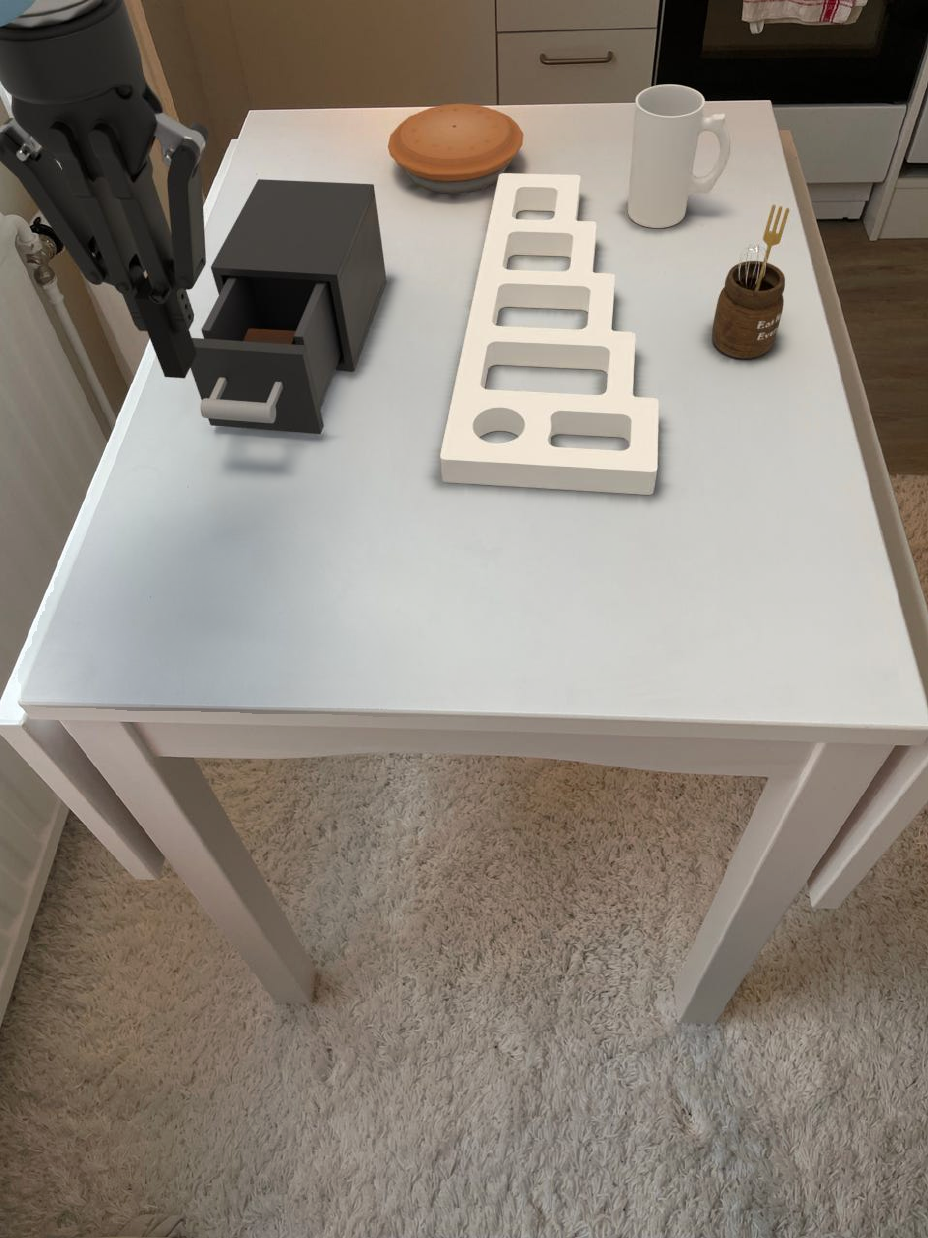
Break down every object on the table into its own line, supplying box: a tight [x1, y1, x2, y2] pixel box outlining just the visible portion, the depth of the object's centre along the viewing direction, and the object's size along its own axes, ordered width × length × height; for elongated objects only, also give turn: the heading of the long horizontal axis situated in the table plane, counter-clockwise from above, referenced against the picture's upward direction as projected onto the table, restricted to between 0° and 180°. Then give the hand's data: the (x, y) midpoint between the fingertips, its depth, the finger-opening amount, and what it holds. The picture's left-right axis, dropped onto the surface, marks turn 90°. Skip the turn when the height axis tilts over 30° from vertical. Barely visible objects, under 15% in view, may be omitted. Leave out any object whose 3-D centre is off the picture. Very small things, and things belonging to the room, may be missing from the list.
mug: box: [627, 83, 731, 229], centre depth 99 cm, size 10×7×12 cm, turn 76°
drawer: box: [190, 276, 343, 435], centre depth 85 cm, size 18×10×9 cm, turn 170°
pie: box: [387, 103, 524, 195], centre depth 110 cm, size 16×16×5 cm
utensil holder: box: [711, 204, 790, 359], centre depth 86 cm, size 6×6×12 cm
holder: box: [439, 172, 660, 496], centre depth 93 cm, size 45×18×3 cm, turn 172°
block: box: [243, 329, 296, 345], centre depth 86 cm, size 4×4×4 cm
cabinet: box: [210, 178, 387, 372], centre depth 92 cm, size 15×12×11 cm
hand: (181, 364), depth 68 cm, fingers closed
